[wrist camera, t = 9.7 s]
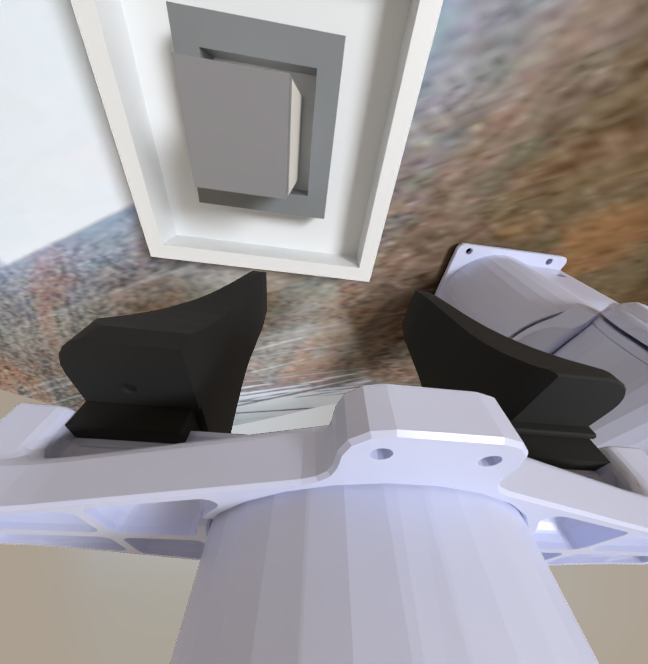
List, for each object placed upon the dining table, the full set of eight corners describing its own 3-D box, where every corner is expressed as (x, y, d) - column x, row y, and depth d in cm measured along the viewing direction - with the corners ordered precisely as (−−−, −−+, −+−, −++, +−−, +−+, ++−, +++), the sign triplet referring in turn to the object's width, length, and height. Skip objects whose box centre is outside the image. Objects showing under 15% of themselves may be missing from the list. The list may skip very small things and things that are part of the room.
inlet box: (441, -59, 12) (471, -109, 9) (364, 265, 21) (369, 281, 19) (73, -144, 10) (-2, -228, 8) (171, 242, 20) (151, 256, 18)
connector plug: (302, 98, 14) (289, 73, 9) (298, 178, 17) (285, 199, 11) (231, 85, 14) (171, 52, 8) (237, 170, 16) (194, 186, 11)
